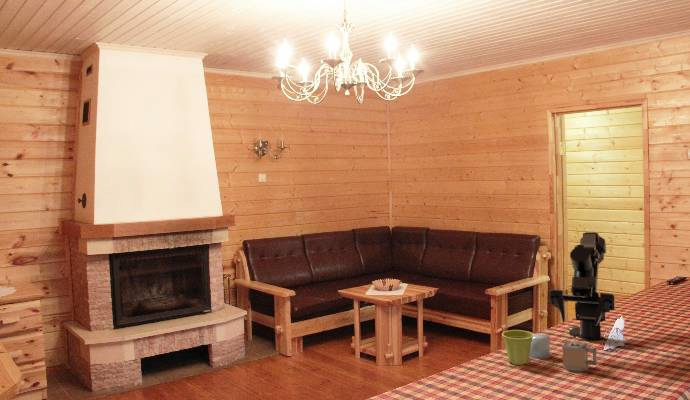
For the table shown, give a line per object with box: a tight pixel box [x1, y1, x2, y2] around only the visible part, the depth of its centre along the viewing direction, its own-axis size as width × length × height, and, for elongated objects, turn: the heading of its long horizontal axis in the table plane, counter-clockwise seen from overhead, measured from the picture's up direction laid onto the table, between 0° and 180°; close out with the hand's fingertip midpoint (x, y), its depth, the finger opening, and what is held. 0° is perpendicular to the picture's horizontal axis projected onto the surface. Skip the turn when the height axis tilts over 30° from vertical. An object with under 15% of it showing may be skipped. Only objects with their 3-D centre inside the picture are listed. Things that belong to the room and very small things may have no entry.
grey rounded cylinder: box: [530, 333, 551, 360], centre depth 185 cm, size 6×6×6 cm
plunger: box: [568, 326, 581, 346], centre depth 172 cm, size 3×3×9 cm
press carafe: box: [561, 340, 598, 373], centre depth 171 cm, size 7×9×7 cm
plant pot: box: [501, 329, 535, 366], centre depth 180 cm, size 9×9×9 cm
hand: (579, 323), depth 179 cm, fingers open, 9 cm apart
